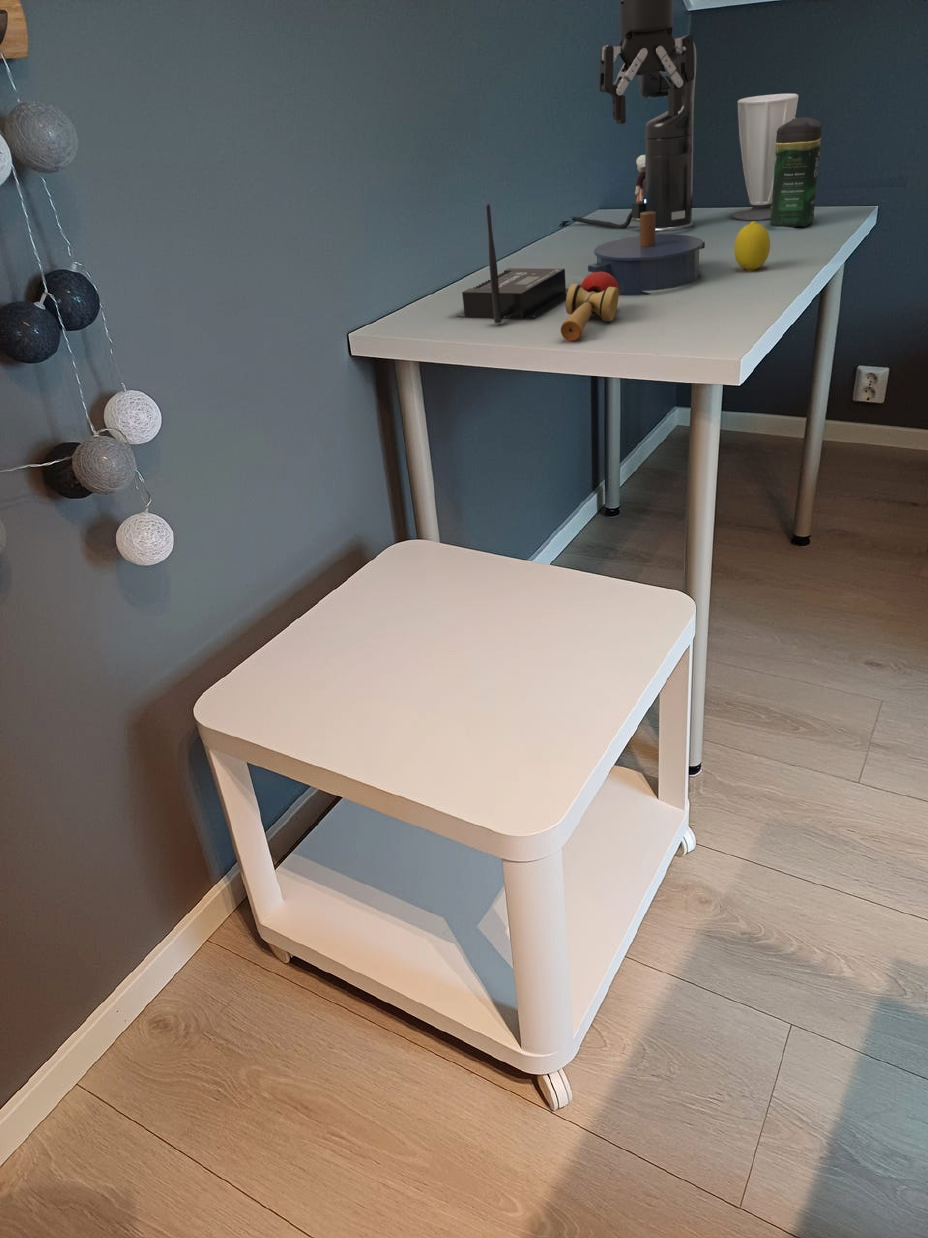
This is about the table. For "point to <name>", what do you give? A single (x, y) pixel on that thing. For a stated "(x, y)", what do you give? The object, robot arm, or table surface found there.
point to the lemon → (752, 246)
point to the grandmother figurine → (640, 178)
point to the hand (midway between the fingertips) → (646, 119)
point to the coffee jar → (795, 172)
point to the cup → (761, 147)
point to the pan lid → (648, 244)
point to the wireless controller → (514, 290)
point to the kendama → (590, 302)
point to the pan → (650, 272)
